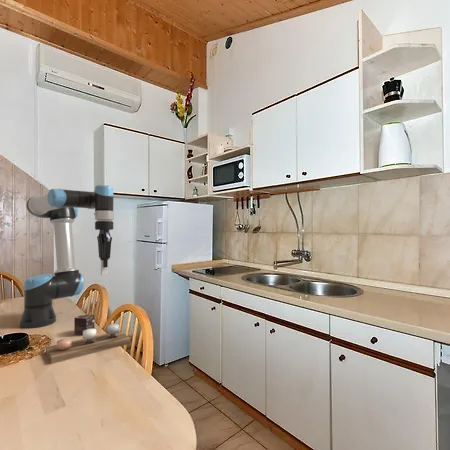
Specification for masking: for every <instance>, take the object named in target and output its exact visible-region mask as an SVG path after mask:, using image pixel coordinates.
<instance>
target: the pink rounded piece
mask: <svg viewBox="0 0 450 450" xmlns="http://www.w3.org/2000/svg"><path fill="white" fill-rule="evenodd" d="M71 341H72V339H71V338H61V339H59V340H57V341H56V345H57V350H61V351H62V350H66V349H68V348H70V347H71Z"/></svg>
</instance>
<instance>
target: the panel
mask: <svg viewBox="0 0 450 450" xmlns="http://www.w3.org/2000/svg"><path fill="white" fill-rule="evenodd" d="M119 331H120V332H117V333H115V337H110V334H108V333H107V332H106V333H103V334H98V335H97V334H96V337H95V338H92V342H91V343H87V339H83V338H81V339H76V340H71V347H70V348H68V349H66V350H62V351H61V350H57V344H53V345H50V346H46V347H45V354H46V355H47V358H48V359H49V362H50V363H51V364H55V363H59V362H64V361H67V360H71V359H74V358H79V357H82V356H87V355H90V354H94V353H98V352H101V351H106V350H110V349H113V348H118V347H122V346H125V345H129V344H131V337H130V336H128V335H127V334H125V333H124V332H123V331H121V330H119Z"/></svg>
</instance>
